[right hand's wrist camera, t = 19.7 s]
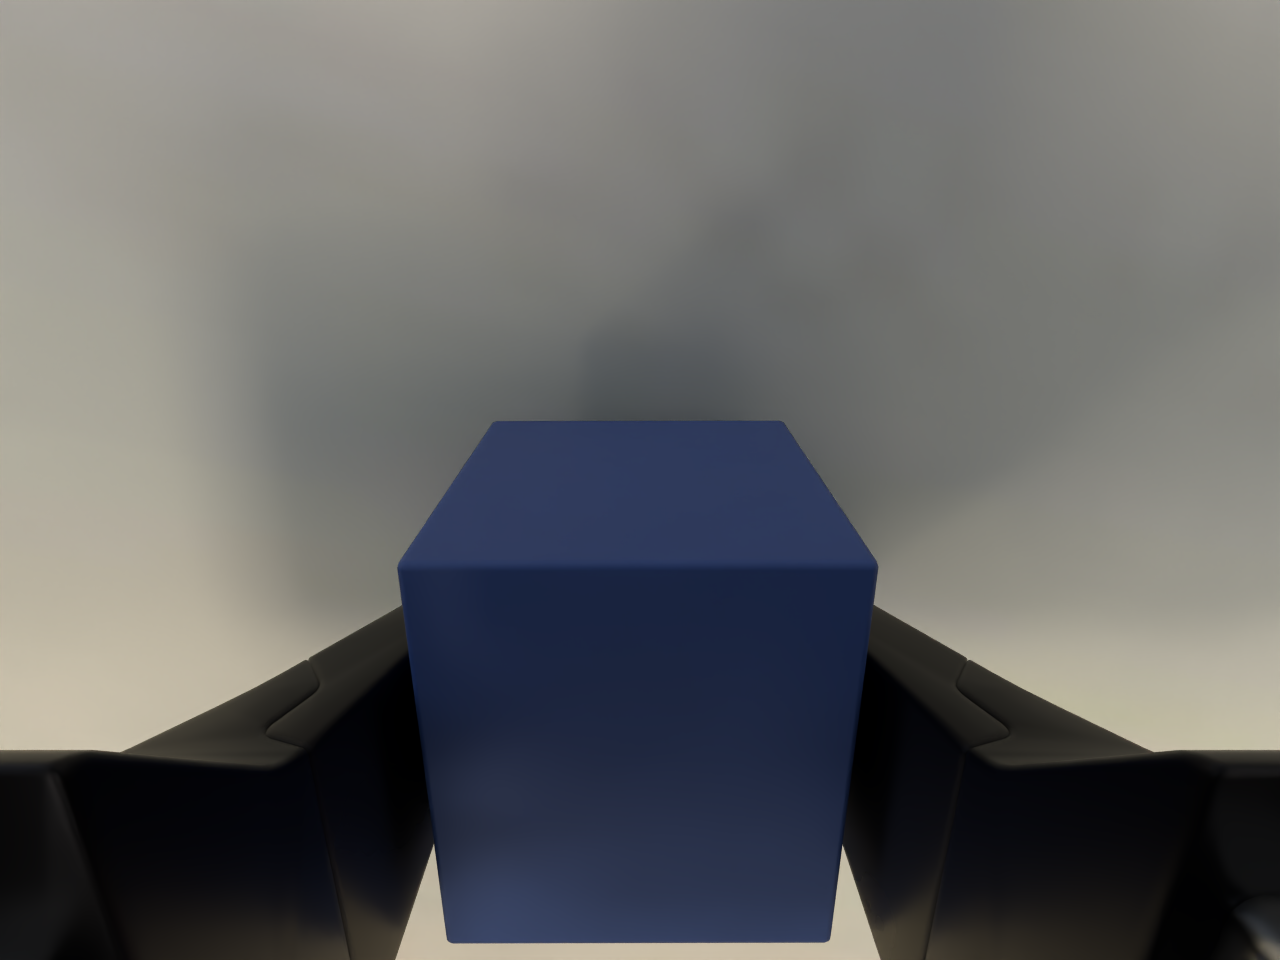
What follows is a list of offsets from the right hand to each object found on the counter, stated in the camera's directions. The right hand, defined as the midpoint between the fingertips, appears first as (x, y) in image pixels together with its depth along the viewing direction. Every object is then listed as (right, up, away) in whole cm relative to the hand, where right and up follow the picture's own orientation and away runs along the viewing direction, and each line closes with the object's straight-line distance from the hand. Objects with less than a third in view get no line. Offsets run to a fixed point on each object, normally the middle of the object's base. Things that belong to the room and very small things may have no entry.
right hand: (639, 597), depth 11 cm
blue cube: (0, 0, +1) cm, 1 cm away
